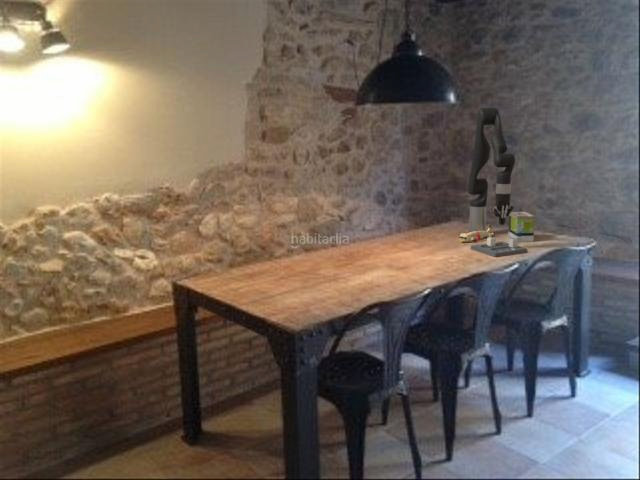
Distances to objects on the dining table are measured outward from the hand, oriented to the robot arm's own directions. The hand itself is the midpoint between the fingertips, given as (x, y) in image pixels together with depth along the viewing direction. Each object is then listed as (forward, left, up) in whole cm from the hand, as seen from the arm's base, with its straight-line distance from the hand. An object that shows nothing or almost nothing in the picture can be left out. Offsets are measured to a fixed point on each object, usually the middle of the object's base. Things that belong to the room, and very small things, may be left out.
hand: (501, 224), depth 305 cm
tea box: (-12, +23, -13) cm, 29 cm away
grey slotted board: (+4, -5, -13) cm, 14 cm away
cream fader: (0, -7, -10) cm, 12 cm away
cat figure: (-24, +2, -13) cm, 27 cm away
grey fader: (+8, +1, -10) cm, 13 cm away
